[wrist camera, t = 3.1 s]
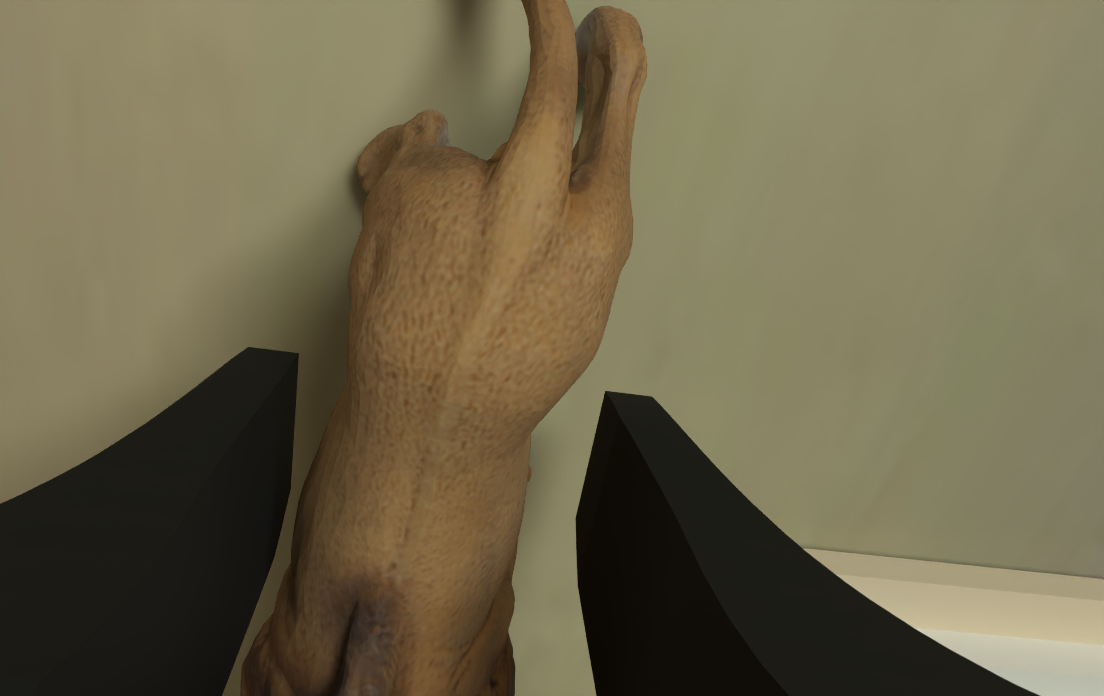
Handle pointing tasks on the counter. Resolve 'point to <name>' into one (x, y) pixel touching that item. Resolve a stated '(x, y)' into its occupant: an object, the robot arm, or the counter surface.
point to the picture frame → (993, 616)
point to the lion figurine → (456, 377)
